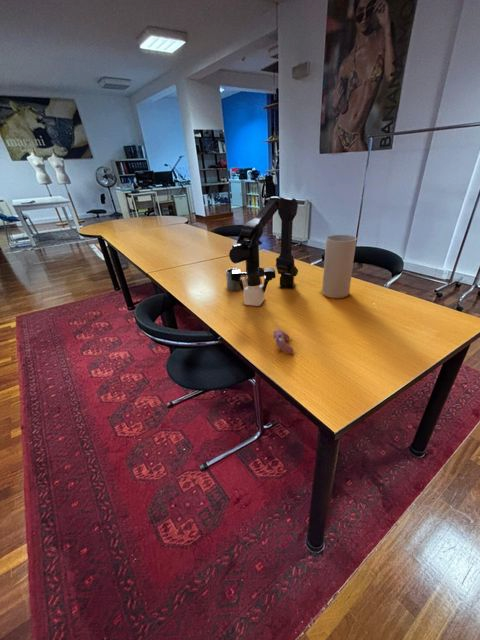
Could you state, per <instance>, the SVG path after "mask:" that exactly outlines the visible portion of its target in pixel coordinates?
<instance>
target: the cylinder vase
mask: <svg viewBox="0 0 480 640" xmlns="http://www.w3.org/2000/svg"><path fill="white" fill-rule="evenodd" d="M357 239H358V238H357V236H354V235H350V234H349V235H348V234H332V235H327V236H326V239H325V251H324V260H323V273H322V283H321V284H322V286H321V293H322V295H323V296H324V297H327V298H332V299H342V298H346V297H348V296H349V294H350V291H351V284H352V283H351V282H352V276H353V275H352V274H353V268H354V262H355V261H354V260H355V254H356V248H357V247H356V246H357Z"/></svg>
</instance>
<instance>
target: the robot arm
mask: <svg viewBox="0 0 480 640" xmlns="http://www.w3.org/2000/svg"><path fill="white" fill-rule="evenodd" d="M298 208H299V203H298V201H297V200H296V199H295V198H292V197H281V196H274V195H273V196H270V197H269V199H268V201H267V202H266V204H265V205H264V206H263V207H262V208H261V210H260V211H259V212H258V213H257V214H256V216H255V217H254V218H253V219H250V220H248V221H247V222H246V223H244V224H243V225H242V227H241V229H240V231H239V235H238V238H237V241H236V244H232V246H231V249H230V250H229V253H228V257H229V260H230V261H231V263H233V264H235V265H236V264H240V263H242V262H245V271H241V272H240V270H241V269H240V270H232V271H231V280H232V281H234V280H235V282H238V283H239V285H240V287H241V292H242V294H243V295H244V292H243V290H244V289H245V288H244V286H243V278H245V277H248V281H254V280H256V281H258V280H260V278H263V285H264V287H263V291H264V294H265V293H266V290H267V287H268V284H269V282H270V281H272V280H273V279H276V271H277V274H278V275H280V276H279V288H280V289H291V290H292V289H293V288H294V287H295V285H296V283H295V277H297V275H298V274H299V269H298V268H297V267H296V265H295V259H294V257H293V255H292V243H293V225H294V224H293V221H294V219H295V217H296V216H297V214H298ZM276 212H277V214H278V216H279V219H280V220H281V222H280V223H281V224H280V226H281V227H280V254H279V255H278V256H277V257H276V259H275V267H276V270H275V268H273V267H268V268H267V267H261V266H260V247H259V246H261V245H262V244H263V242H262V241H261V238H262V236H263V234H264V229H265V227H266V225H267V224H268V222H270V220H271V219H272V218H273V216H274V215H275V214H276Z"/></svg>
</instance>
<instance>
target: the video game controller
mask: <svg viewBox="0 0 480 640" xmlns="http://www.w3.org/2000/svg"><path fill="white" fill-rule="evenodd" d="M272 336H273V338H274V339H275V340H274V341H275V343H276V347H278V350H281V351H282V352H284V353H286V354H290V355H291V354H293V353H294V348H293V347H292V346H290V345H289V344H288V343H286V341H289V340H290V338H291V337H290V336H289V334H287V332H284V331H283V330H282V329H276V330H274V331H273V335H272Z"/></svg>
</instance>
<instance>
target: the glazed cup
mask: <svg viewBox="0 0 480 640" xmlns="http://www.w3.org/2000/svg"><path fill="white" fill-rule="evenodd" d="M232 270H240V272H242V269H240V268H236V267H235V268H229V269H226V270H225V279H226V288H227V291H229V292H237V291H238V292H239V291H242V289H241V287H240V285H239V283H238V282H235V280H234V281H232V280H231V271H232Z"/></svg>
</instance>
